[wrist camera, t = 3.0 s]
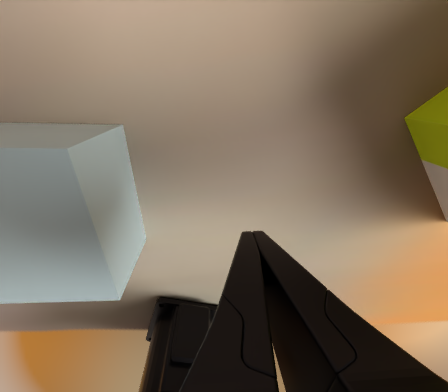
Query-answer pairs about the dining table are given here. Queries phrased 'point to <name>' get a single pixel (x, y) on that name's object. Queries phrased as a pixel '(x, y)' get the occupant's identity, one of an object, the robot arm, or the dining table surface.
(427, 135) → the puzzle toy
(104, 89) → the dining table surface
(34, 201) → the block
